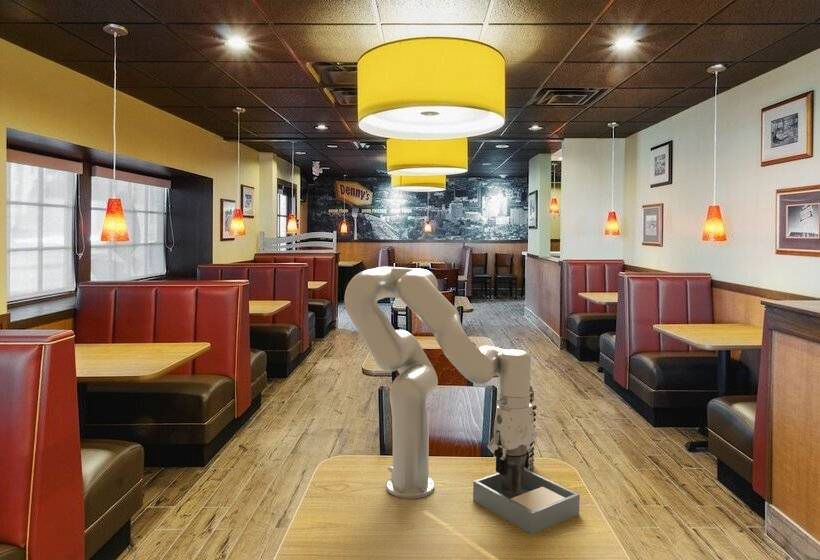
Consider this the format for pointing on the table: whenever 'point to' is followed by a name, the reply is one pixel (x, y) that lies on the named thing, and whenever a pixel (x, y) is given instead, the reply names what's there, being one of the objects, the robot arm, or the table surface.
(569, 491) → the tray
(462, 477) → the table surface
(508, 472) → the beverage cup
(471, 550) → the table surface
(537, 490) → the beige rectangular block
